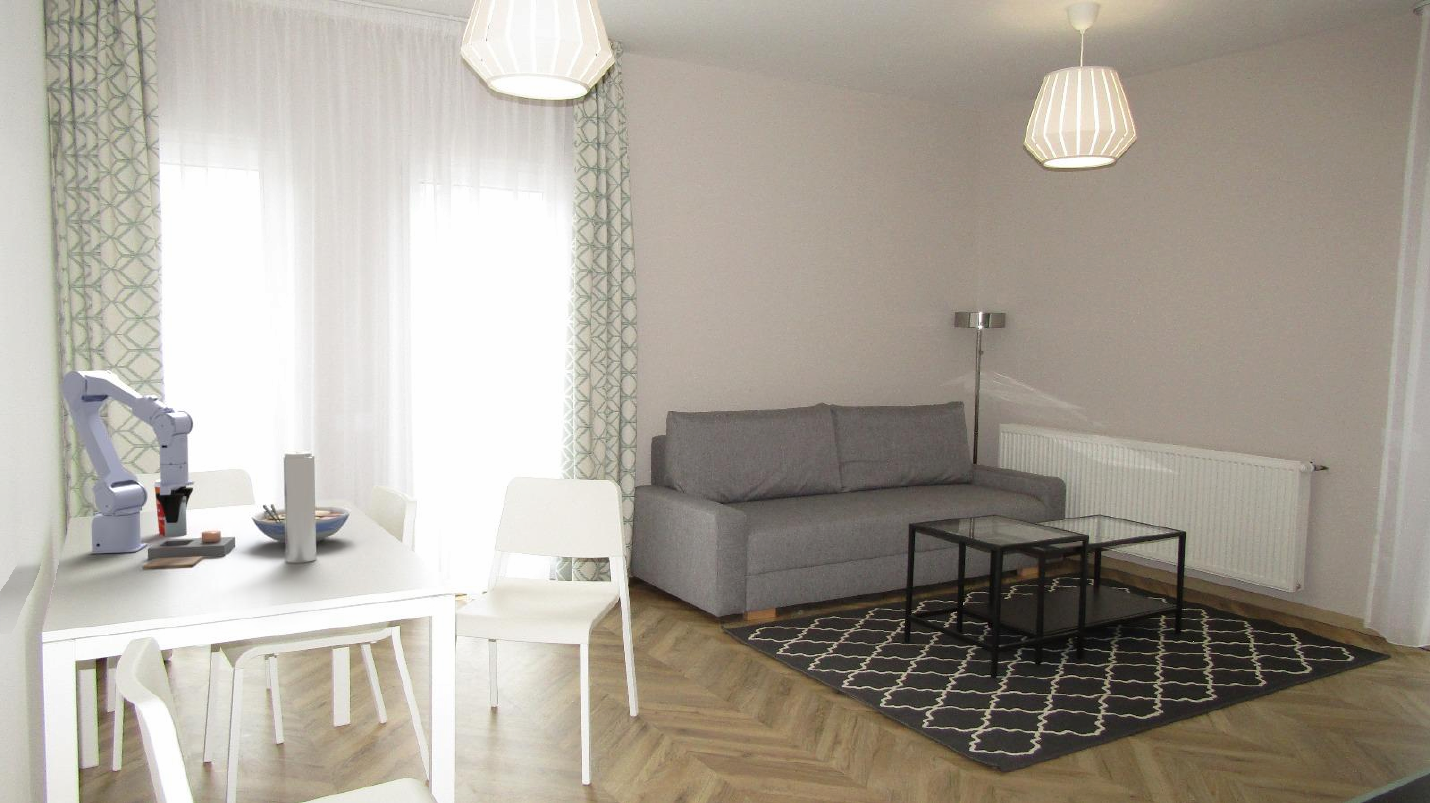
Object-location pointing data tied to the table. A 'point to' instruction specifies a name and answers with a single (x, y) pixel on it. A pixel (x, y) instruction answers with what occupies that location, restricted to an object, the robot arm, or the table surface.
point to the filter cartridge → (178, 523)
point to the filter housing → (190, 548)
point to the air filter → (299, 507)
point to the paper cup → (160, 510)
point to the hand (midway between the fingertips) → (175, 520)
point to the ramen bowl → (326, 517)
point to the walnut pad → (172, 562)
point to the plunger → (211, 536)
